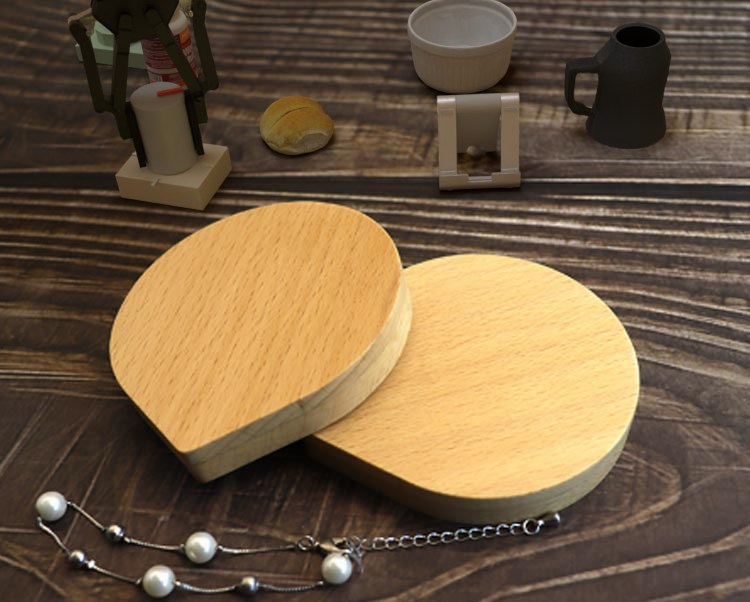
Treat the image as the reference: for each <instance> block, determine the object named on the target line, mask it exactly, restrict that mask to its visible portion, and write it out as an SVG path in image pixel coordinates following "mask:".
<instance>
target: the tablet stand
mask: <svg viewBox="0 0 750 602" xmlns="http://www.w3.org/2000/svg"><path fill="white" fill-rule="evenodd" d="M436 110H437V111H436V112H437V113H436V114H437V139H438V140H437V142H438V183H439V184H438V186H439V191H453V190H472V189H477V190H478V189H499V188H500V189H502V188H507V189H512V188H520V187H521V179H522V177H521V176H522V173H521V171H520V92H517V91H515V92H498V93H494V92H493V93H469V94H450V95H449V94H448V95H436ZM499 131H500V171H497V172H491V175H479V176H469V173H458V154H463V153H464V154H465V153H467V152H468V149H469V147H479V146H481V147H482V148H483V150H484V153H487V152H489V153H490V152H491V153H492V152H496V151H497V150H498V141H499V140H498V139H499Z"/></svg>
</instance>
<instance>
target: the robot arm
mask: <svg viewBox="0 0 750 602" xmlns="http://www.w3.org/2000/svg"><path fill="white" fill-rule="evenodd" d="M178 5H179V6H180V8H182V12H183V13H184V14H185V16H186V17H188V18H189V21H190V25H191V29H192V33H193V37H194V41H195V45H196V50H197V53H198V57H199V62H200V65H201V69H202V73H203V74H201V75H198V78H197V76H196V74H195V72H194V71H193V69H192V67H191V65H190V63H189V62H188V60H187V58H186V56H185V55H184V53H183V51H182V49H181V47H180V46H179V44H178V42H177V40H176V38H175V37H174V35H173V33H172V31H171V29H170V27H169V23H170V21H171V19H172V17H173V14H174V12H175V10H176V8H177V6H178ZM206 13H207V1H206V0H90V4H89V8H87V9H86V10H83V11H81V12H79V13H77V12H75V11H71V12H69V13H68V14H67V16H66V20H67V25H68V30H69V33H70V34H71V35H72V37H73V39H74V40H75V42H76V44H77V43H78V45H79V46H80V50H81V54H82V58H83V61H82V62H83V67H84V71H85V77H86V80H87V83H88V84H87V85H88V88H89V93H90V97H91V101H92V105H93V109H94V112H96V113H97V114H104V113H105V112H107V113H110V114H112V115H113V116H114V119H115V123H116V125H117V129H118V133H119V136H120V138H121V139H122V141H125V140H132V143H133V147H134V152H135V151H136V154H137V158H138V162H139V166H140V168H143V167H147V165H146V160H145V157H144V153H143V149H142V145H141V141H140V137H139V133H138V129H137V126H136V122H135V118H134V114H133V110H132V106H131V102H130V100H128V101H127V90H128V89H127V87H128V76H129V75H128V73H129V67H128V60H129V54H130V43H136V42H138V41H140V40H142V39H157V38H159V40H160V42H161V44H162V45H163V47H164V48H165V49H166V51H167V53H168V55H169V56H170V58H171V60H172V62H173V63H174V65H175V67H176V69H177V70H178V72H179V74H180V76H181V77H182V79H183V81H184V83H185V84H186V86H187V88H188V89H186V90H183V91H184V95H185V100H186V105H187V110H188V114H189V119H190V124H191V128H192V133H193V138H194V142H195V147H196V151H197V154H198V156H200V155H205V153H204V148H203V143H204V142H203V139H202V133H201V129H200V125H202V124H207V123H208V121H209V116H208V111H207V105H206V101H205V99H206V98H205V97H206V94H207V93H208V92H210V91H216V90H218V89H219V87H220V81H219V78H218V73H217V68H216V64H215V60H214V56H213V53H212V48H211V43H210V40H209V35H208V32H207V31H208V30H207V27H206V23H205V21H206ZM96 21H98V22H99V23H100V24H102V25H103V26H104V27H105V28H106V29H108V30H109V31H110V32H111V33H113V39H114V47H113V65H111V66H112V67H111V85H110V94H107V93H104V91H103V86H102V82H101V77H100V73H99V68H98V63H96V59H95V54H94V50H93V45H92V41H91V37H90V36H91V35H93V33H94V27H95V26H94V25H95V22H96Z"/></svg>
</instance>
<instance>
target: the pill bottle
mask: <svg viewBox="0 0 750 602" xmlns="http://www.w3.org/2000/svg"><path fill="white" fill-rule="evenodd" d="M169 27H170V29H171V31H172V33H173V35H174V37H175V38H176V40H177V42H178V44H179V46H180V47H181V49H182V51H183V53H184V55H185V56H186V58H187V60H188V62H189V63H190V65H191V67H192V69H193V71H194V72H195V74H196V76H197V78H198V77H199V72H198V67H197V62H196V57H195V53H194V48H193V43H192V38H191V33H190V27H189V23H188V18H187V16H186V15H185V14H184V11H183V10H181V6H179V5H178V6H177V8H176V10H175V12H174V14H173V17H172V19H171V21H170V23H169ZM140 43H141V47H142V50H143V55H144V59H145V63H146V67H147V69H146V70H147V75H148V80H149V84H151V83H156V82H170V83H174V84H177V85H179V86H180V87H182V89H183V90H188V88H187V86H186V84H185V83H184V81H183V79H182V77H181V76H180V74H179V72H178V70H177V69H176V67H175V65H174V63H173V62H172V60H171V58H170V56H169V55H168V53H167V51H166V49H165V48H164V47H163V45H162V44H161V42H160V40H159V38H157V39H142V40H140Z"/></svg>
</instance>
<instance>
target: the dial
mask: <svg viewBox="0 0 750 602" xmlns="http://www.w3.org/2000/svg"><path fill="white" fill-rule="evenodd" d="M129 101H130V102H131V106H132V110H133V114H134V118H135V122H136V126H137V129H138V133H139V137H140V141H141V145H142V149H143V153H144V157H145V160H146V164H147V167H148V168H149V170H151V171H152V172H154V173H156V174H161V175H173V174H178V173H181V172H184V171H186V170H188V169H189V168H191V167H192V166H193V165H194V164H195V163H196V161H197V152H196V147H195V142H194V138H193V133H192V128H191V124H190V119H189V114H188V110H187V105H186V100H185V95H184V91H183V89H182V87H180V86H179V85H177V84H174V83H170V82H156V83H147V84H145V85H142V86H140V87H139V88H137V89H135V91H133V92H132V93H131V95H130V99H129Z"/></svg>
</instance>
